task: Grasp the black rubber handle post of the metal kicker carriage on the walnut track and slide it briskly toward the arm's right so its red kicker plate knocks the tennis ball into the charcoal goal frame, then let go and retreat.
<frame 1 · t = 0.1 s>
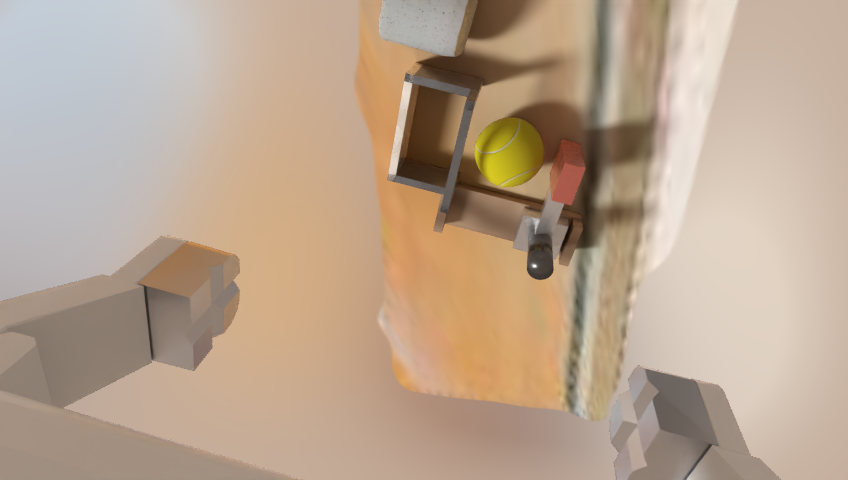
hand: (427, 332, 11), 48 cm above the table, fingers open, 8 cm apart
goal: (438, 123, 58), on the table
track: (507, 215, 62), on the table
kicker carriage: (552, 213, 55), point 5 cm above the table, slide at 0.0 cm
tennis ball: (510, 140, 58), on the table
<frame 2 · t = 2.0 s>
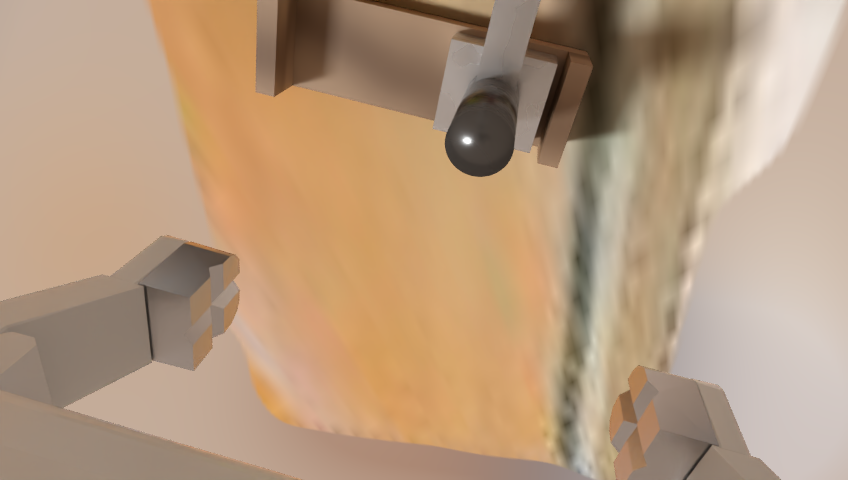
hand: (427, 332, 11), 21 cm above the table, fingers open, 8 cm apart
track: (426, 64, 28), on the table
kicker carriage: (515, 8, 21), point 6 cm above the table, slide at 0.0 cm
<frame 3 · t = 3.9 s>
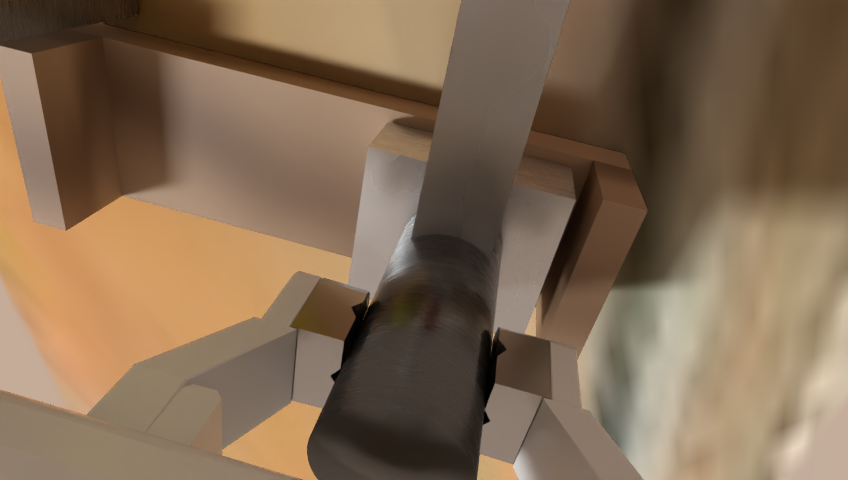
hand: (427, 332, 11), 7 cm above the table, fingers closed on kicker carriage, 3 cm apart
track: (344, 164, 17), on the table
kicker carriage: (485, 113, 9), point 6 cm above the table, slide at 0.0 cm, touching gripper
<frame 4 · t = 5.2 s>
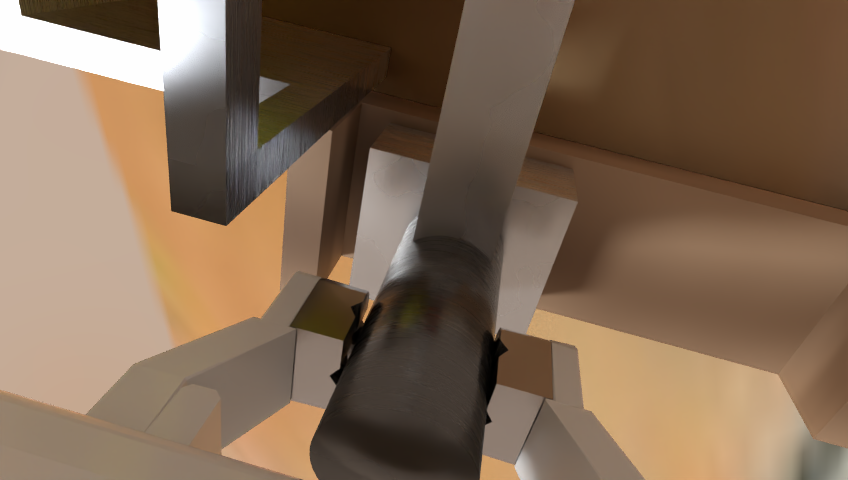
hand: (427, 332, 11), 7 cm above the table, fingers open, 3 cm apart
track: (579, 226, 16), on the table
kicker carriage: (488, 115, 9), point 6 cm above the table, slide at 7.4 cm, touching gripper, tennis ball
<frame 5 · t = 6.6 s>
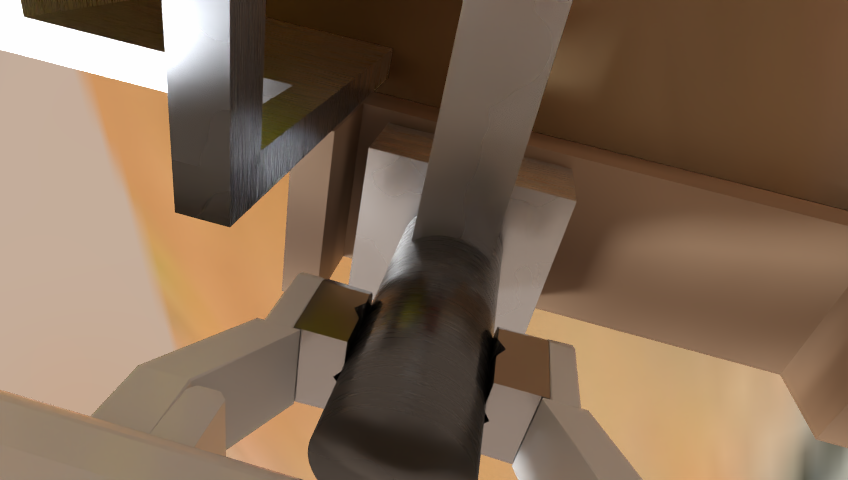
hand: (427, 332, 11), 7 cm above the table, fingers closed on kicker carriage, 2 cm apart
track: (581, 227, 16), on the table
kicker carriage: (486, 115, 9), point 5 cm above the table, slide at 7.5 cm, touching gripper
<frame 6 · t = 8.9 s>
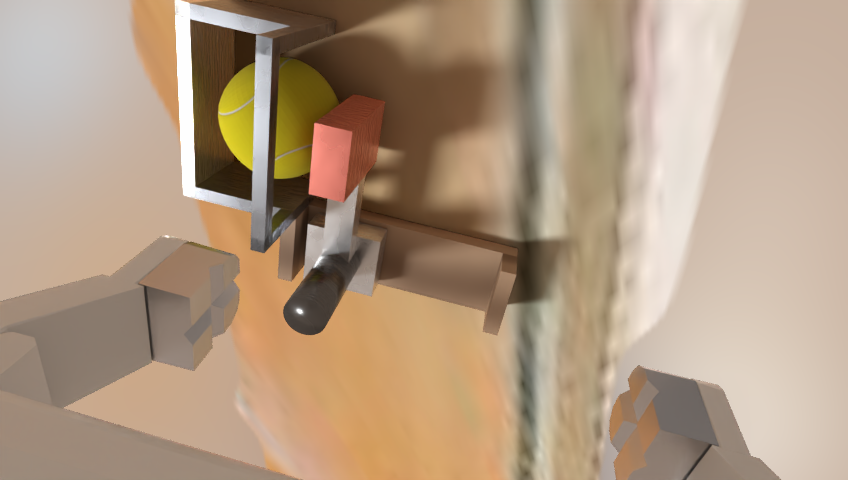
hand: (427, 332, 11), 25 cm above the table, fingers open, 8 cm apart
goal: (274, 101, 35), on the table
track: (402, 251, 39), on the table
kicker carriage: (336, 219, 32), point 6 cm above the table, slide at 7.6 cm
tennis ball: (305, 105, 35), on the table
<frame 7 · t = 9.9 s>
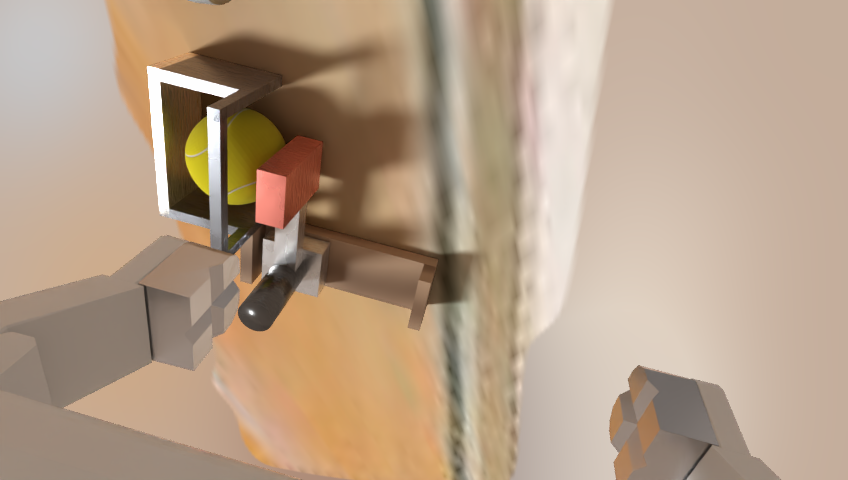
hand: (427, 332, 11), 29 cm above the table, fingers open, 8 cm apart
goal: (235, 136, 42), on the table
track: (345, 259, 46), on the table
kicker carriage: (282, 238, 40), point 5 cm above the table, slide at 7.5 cm
tennis ball: (260, 140, 42), on the table
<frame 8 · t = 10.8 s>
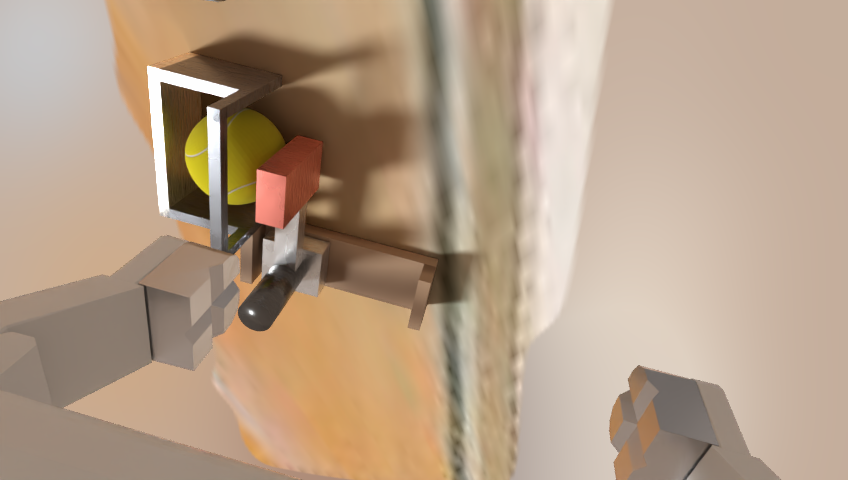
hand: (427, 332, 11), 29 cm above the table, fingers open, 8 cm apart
goal: (235, 136, 42), on the table
track: (345, 259, 46), on the table
kicker carriage: (282, 238, 40), point 5 cm above the table, slide at 7.5 cm
tennis ball: (260, 140, 42), on the table
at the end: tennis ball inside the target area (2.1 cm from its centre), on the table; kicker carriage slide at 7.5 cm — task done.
